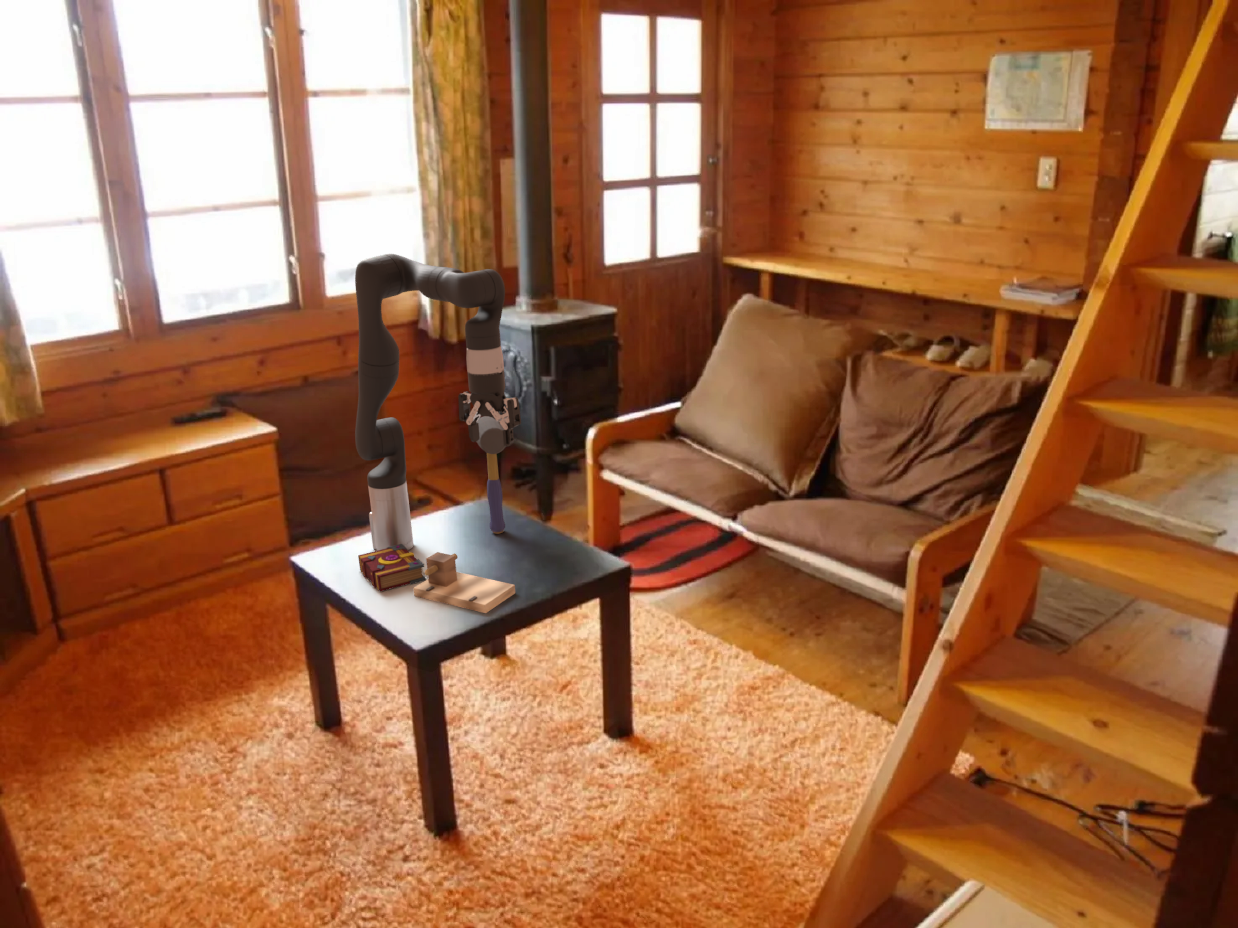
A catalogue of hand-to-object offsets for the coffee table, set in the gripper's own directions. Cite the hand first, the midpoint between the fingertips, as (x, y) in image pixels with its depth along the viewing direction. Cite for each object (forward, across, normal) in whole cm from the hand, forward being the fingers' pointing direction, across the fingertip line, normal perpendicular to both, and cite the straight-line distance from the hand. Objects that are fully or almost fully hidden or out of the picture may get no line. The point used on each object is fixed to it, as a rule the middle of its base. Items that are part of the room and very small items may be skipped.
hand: (491, 443), depth 221 cm
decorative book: (+36, -32, -1) cm, 48 cm away
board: (+36, -9, -2) cm, 37 cm away
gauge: (+34, -15, -2) cm, 37 cm away
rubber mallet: (+36, -24, +31) cm, 53 cm away
